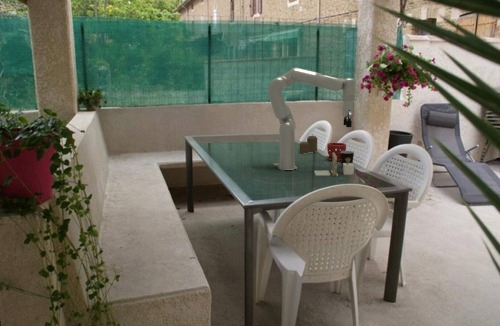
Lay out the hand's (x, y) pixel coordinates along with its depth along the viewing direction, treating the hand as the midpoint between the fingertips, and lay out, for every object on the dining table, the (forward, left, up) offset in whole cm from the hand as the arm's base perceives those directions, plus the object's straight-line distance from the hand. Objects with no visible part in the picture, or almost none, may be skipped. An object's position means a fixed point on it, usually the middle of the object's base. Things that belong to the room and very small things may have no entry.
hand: (347, 126), depth 266 cm
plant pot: (-2, +31, -29) cm, 42 cm away
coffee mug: (0, +9, -29) cm, 30 cm away
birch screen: (-9, -9, -28) cm, 31 cm away
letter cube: (0, -9, -29) cm, 30 cm away
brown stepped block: (-21, +60, -29) cm, 70 cm away
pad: (-16, -9, -28) cm, 34 cm away
